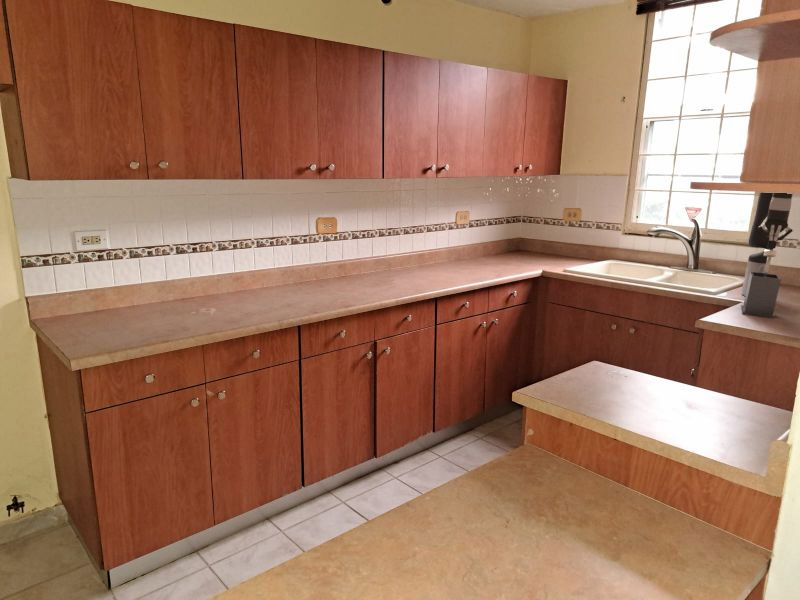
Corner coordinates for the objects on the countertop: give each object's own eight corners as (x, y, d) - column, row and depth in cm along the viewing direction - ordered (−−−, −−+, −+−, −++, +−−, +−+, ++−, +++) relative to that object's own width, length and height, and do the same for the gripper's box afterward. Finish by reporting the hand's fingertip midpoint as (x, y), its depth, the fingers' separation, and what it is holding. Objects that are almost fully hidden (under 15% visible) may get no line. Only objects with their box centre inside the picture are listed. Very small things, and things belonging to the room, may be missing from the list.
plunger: (751, 284, 258) (759, 248, 254) (772, 287, 255) (780, 250, 250) (752, 288, 251) (760, 250, 247) (774, 291, 248) (782, 253, 243)
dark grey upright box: (741, 307, 264) (748, 271, 259) (771, 312, 259) (779, 274, 254) (742, 314, 253) (750, 276, 249) (774, 318, 248) (783, 279, 244)
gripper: (796, 209, 244) (787, 249, 249) (760, 206, 250) (752, 246, 254) (799, 211, 238) (790, 252, 242) (762, 208, 243) (753, 248, 248)
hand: (770, 249), depth 248 cm, fingers closed
